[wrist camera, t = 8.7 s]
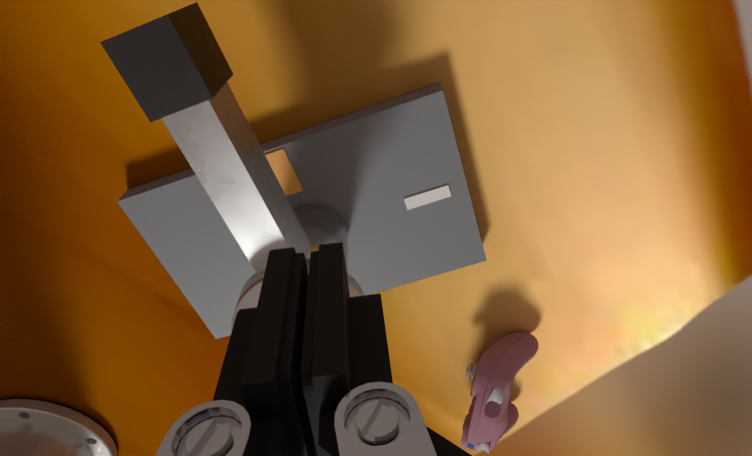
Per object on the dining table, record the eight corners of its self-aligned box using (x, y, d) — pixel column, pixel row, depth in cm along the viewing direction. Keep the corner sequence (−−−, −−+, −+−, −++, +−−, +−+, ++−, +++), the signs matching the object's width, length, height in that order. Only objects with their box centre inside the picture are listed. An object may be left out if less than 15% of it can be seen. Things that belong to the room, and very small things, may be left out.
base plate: (220, 324, 35) (215, 340, 34) (127, 190, 29) (116, 202, 28) (481, 247, 33) (486, 261, 31) (438, 83, 27) (443, 90, 25)
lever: (377, 259, 31) (386, 359, 23) (287, 287, 31) (269, 393, 24) (256, -23, 22) (209, -4, 15) (135, 27, 23) (34, 69, 15)
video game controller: (484, 313, 38) (461, 374, 33) (542, 330, 37) (528, 398, 31) (468, 394, 43) (446, 459, 38) (518, 412, 42) (503, 483, 36)
